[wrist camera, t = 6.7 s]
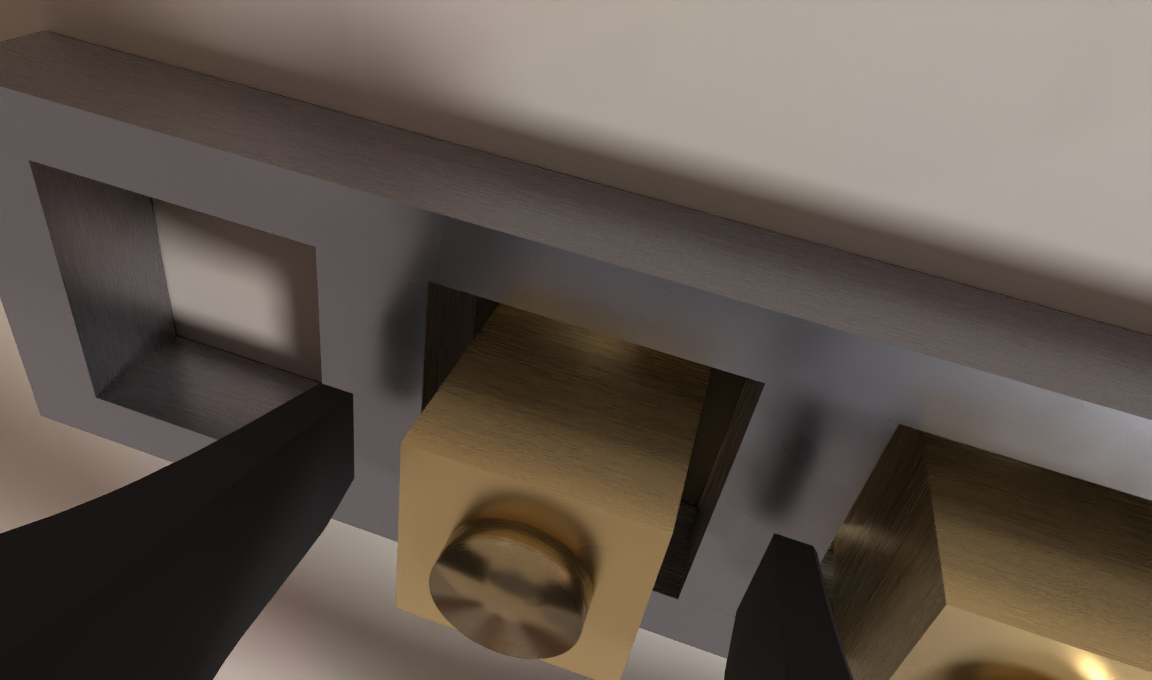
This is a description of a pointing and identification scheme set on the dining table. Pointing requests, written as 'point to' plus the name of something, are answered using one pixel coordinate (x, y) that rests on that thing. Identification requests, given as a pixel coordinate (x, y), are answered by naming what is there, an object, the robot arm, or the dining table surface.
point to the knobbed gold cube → (546, 490)
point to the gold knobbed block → (991, 570)
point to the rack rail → (522, 280)
